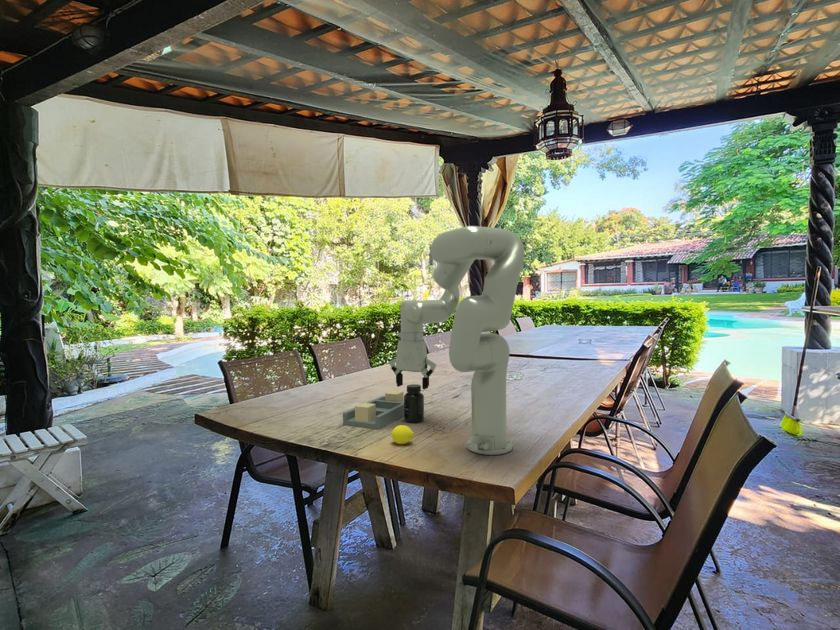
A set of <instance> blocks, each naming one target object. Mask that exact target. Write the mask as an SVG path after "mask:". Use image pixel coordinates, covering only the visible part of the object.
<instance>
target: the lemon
mask: <svg viewBox="0 0 840 630" xmlns="http://www.w3.org/2000/svg"><path fill="white" fill-rule="evenodd" d="M414 435H415V433H414V431H413V430H412V429H411V427H409V426H408V425H403V424H399V425H397V426H395V428H393V429H392V431H391V433H390V437H391V439H392V440H393V442H395V444H397V445H406V444H408V443H409V442H411V440H412V438H413V437H414Z"/></svg>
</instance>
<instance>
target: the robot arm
mask: <svg viewBox="0 0 840 630" xmlns="http://www.w3.org/2000/svg"><path fill="white" fill-rule="evenodd" d="M430 255H431V257H432V259H433V261H435V262H436V263H438V264H437V266H436V267H435V269H434V271H433V274H432V276H433V280H434V281H435V283H436V284H437V285H438V286H439V287H441V288H442V289H444V291H443V294H442V295H441V297H440V298H439V299H431V300H430V299H429V300H427V299H426V300H417V299H416V300H414V299H411V300H408V299H407V300H403V301H402V302H401V304H400V332H398V333H397V337H398V338H400V340H398V342H397V347H396V349H397V350H396V357H395V358H393V359H391V360H389V361H388V363H389V365H390V367H391V368H390V369H391V370H392V371H393V373H394V375H395V383H396V387H398V388H399V387H401V386H403V385H404V384H403V383H404V381H403V379H404V378H403V377H404V375H403V373H402V372H414V373H421V375H422V376H423V377H422V383H421V384H422V385H421V390H426V389H428V388H429V387H430V376H431V375H432V374H433V373H434V372H435V369H436V368H437V364H436V363H435V362H433V361H431V360H430V359H429V358H428V351H427V345H426V341H425V340H424V325H428V324H440V323H445V322H446V321H448V320H449V318H450V317H451V316H452V315H453V313H454V317H453V322H452V328H451V334H450V341H449V348H448V356H449V361H450V364H451V366H452V367H453V369H454V370H456V371H457V372H461V373H470V372H473V375H472V378H471V382H470V383H471V384H470V385H471V387H470V388H471V389H470V390H471V391H470V392H471V396H470V397H471V438H469V439H468V440H466V448H467V449H468V450H469V451H470V452H472V453H476V454H479V455H484V456H485V455H487V456H495V455H503V454H506V453H509V452H511V451H512V450H513V448H514V447H513V442H512V441H510V440H509V439H508V437H507V436H508V435H507V426H508V425H507V424H508V423H507V373H508V371H507V370H508V365H509V360H510V346H509V343H508V341H507V340H506V339H505V337H503V336H502V335H500V334H498V333H493V332H495V331H500V330H503V329H505V328H507V327H508V326H509V324H510V322H511V318H512V314H513V309H514V302H515V300H516V293H517V287H518V283H519V278H520V275H521V272H522V270H523V265H524V261H525V247H524V244H523V242H522V240H521V239H520V237H519V236H518V235H517V234H515V233H514V232H513V231H511V230H508V229H504V228H500V227H491V226H490V227H489V226H480V225H479V226H478V225H465V226H462V227H459V228H456V229H451V230H448V231H447V230H446V231H444V232H441V233H440V234H438V235H437V236H436V237H435V238H434V239H433V240H432V242H431V246H430ZM475 260H482V261H484V260H485V261H488V260H489V261H494V264H493V265H492V266H490V268H489V270H488V272H487V274H486V277H485V279H484V284H483V289H482V292H481V294H480V295H470V296H467V297H465V298H463V299H462V300H460V288H459V285H460V284H461V282H462V281H463V279H464V277H465V276H466V274H467V272H468V271H469V270H470V269H471V266H472V265H473V263H474V262H475ZM484 332H485V333H484ZM486 332H487V333H486ZM429 366H430V368H429V370H428V367H429Z"/></svg>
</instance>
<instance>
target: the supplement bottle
mask: <svg viewBox="0 0 840 630" xmlns="http://www.w3.org/2000/svg"><path fill="white" fill-rule="evenodd" d="M403 420H404V421H405V422H406V423H409V424H410V423H411V424H419V423H422V422H424V421H425V396H424V393H422V385H420V384H415V383H413V384H407V385H406V393H405V394H404V416H403Z"/></svg>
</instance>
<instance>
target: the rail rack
mask: <svg viewBox="0 0 840 630" xmlns="http://www.w3.org/2000/svg"><path fill="white" fill-rule="evenodd" d="M404 395H405V394H404V390H403V391H401V390H389V391H388V392H385V393H384V395H381V396H378V397H376V398H374V399H371V400H369V401H367V402H362V403H358V404H356V405H355V406H354V407H353V408H351V409H349V410H346V411H344V412H342V425H343V426H349V427H359V428H364V429H365V428H366V429H373V430H381V429H383V428H385V427H387V426H389V425H390V424H392V423H394V422H395V420H396V421H398V420H400V418H404ZM393 421H394V422H393ZM386 425H387V426H386ZM384 426H385V427H384Z"/></svg>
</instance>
